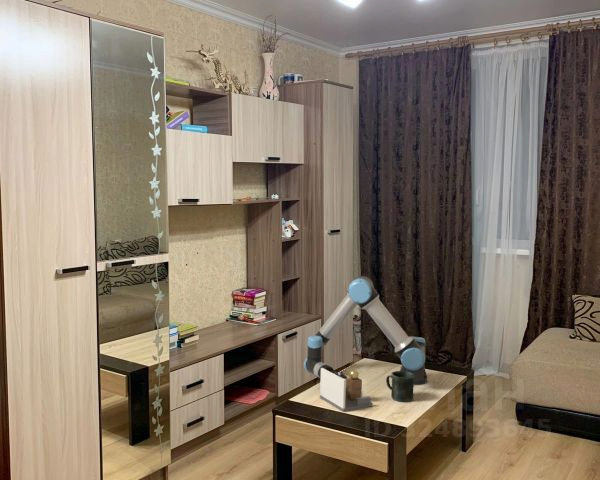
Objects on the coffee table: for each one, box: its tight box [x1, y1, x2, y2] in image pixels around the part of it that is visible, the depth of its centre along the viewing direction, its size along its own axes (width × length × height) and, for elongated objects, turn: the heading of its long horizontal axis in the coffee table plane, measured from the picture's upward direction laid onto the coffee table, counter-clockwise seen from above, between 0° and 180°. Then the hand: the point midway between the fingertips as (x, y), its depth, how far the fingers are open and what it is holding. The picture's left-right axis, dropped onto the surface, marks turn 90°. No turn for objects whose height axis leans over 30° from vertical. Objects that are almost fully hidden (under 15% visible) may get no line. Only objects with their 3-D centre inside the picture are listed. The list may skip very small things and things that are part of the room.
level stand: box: [319, 368, 373, 413], centre depth 287 cm, size 20×16×14 cm
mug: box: [385, 370, 415, 403], centre depth 294 cm, size 11×15×12 cm
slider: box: [345, 369, 363, 400], centre depth 287 cm, size 5×6×13 cm
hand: (349, 385), depth 290 cm, fingers closed
